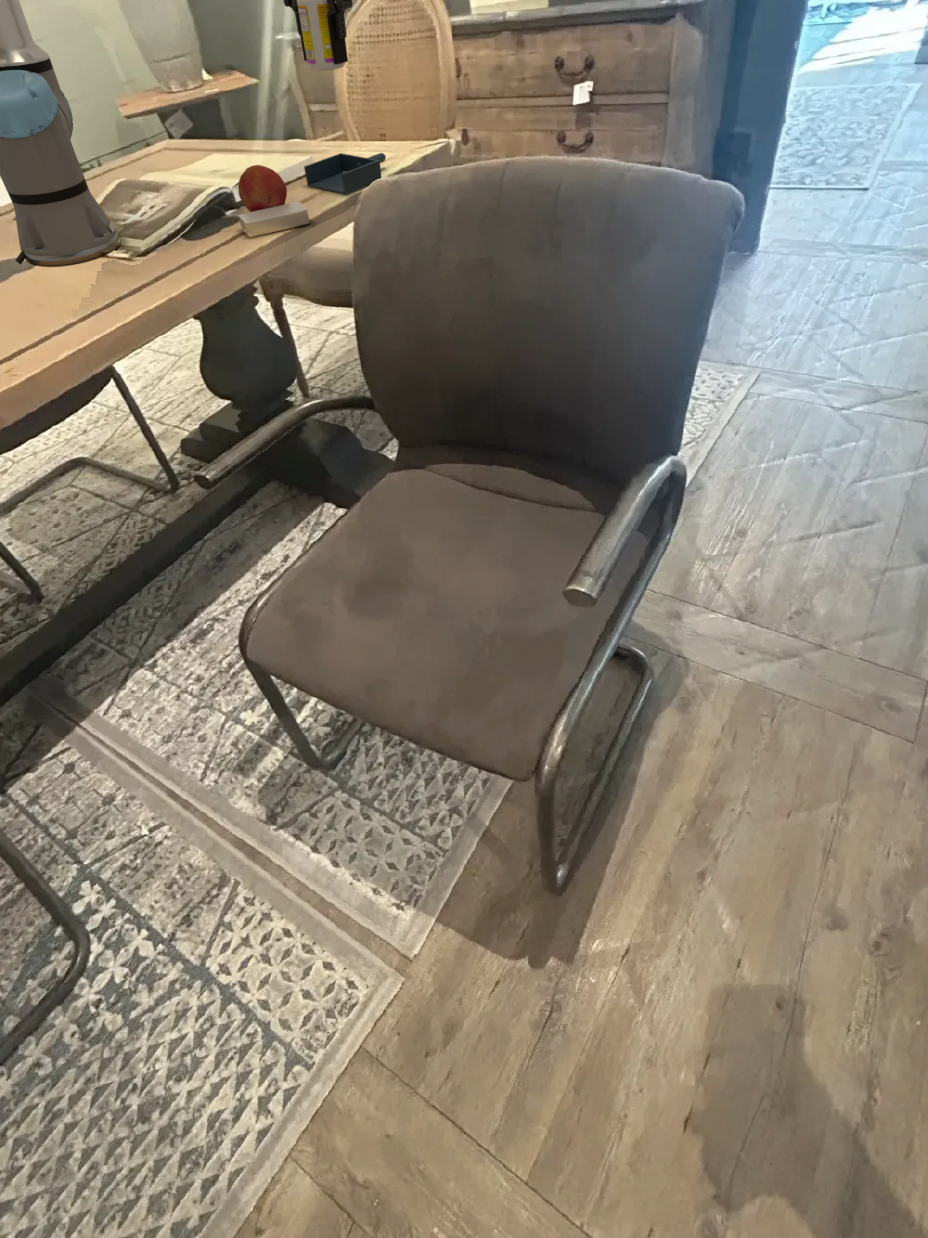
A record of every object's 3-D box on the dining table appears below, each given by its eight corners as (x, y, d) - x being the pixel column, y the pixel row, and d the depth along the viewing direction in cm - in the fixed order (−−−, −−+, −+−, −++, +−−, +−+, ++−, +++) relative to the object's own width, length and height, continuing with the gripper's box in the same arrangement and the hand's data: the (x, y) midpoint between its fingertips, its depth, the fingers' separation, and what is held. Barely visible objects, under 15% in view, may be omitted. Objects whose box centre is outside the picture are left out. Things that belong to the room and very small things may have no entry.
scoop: (346, 194, 134) (342, 174, 131) (307, 186, 139) (303, 166, 136) (404, 171, 143) (403, 151, 140) (366, 163, 147) (364, 144, 145)
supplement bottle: (351, 63, 127) (338, -34, 118) (338, 71, 123) (324, -29, 114) (316, 64, 129) (301, -32, 119) (302, 71, 124) (285, -28, 115)
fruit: (297, 182, 128) (292, 234, 127) (257, 186, 130) (251, 239, 129) (274, 148, 120) (268, 204, 119) (232, 154, 122) (226, 209, 121)
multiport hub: (298, 201, 124) (301, 215, 126) (237, 214, 121) (241, 229, 123) (307, 209, 122) (310, 223, 124) (245, 223, 119) (249, 238, 120)
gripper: (361, -133, 106) (381, 61, 123) (273, -128, 115) (303, 53, 131) (325, -131, 102) (351, 69, 119) (236, -125, 111) (272, 60, 128)
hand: (326, 60), depth 125 cm, fingers closed on supplement bottle, 7 cm apart
